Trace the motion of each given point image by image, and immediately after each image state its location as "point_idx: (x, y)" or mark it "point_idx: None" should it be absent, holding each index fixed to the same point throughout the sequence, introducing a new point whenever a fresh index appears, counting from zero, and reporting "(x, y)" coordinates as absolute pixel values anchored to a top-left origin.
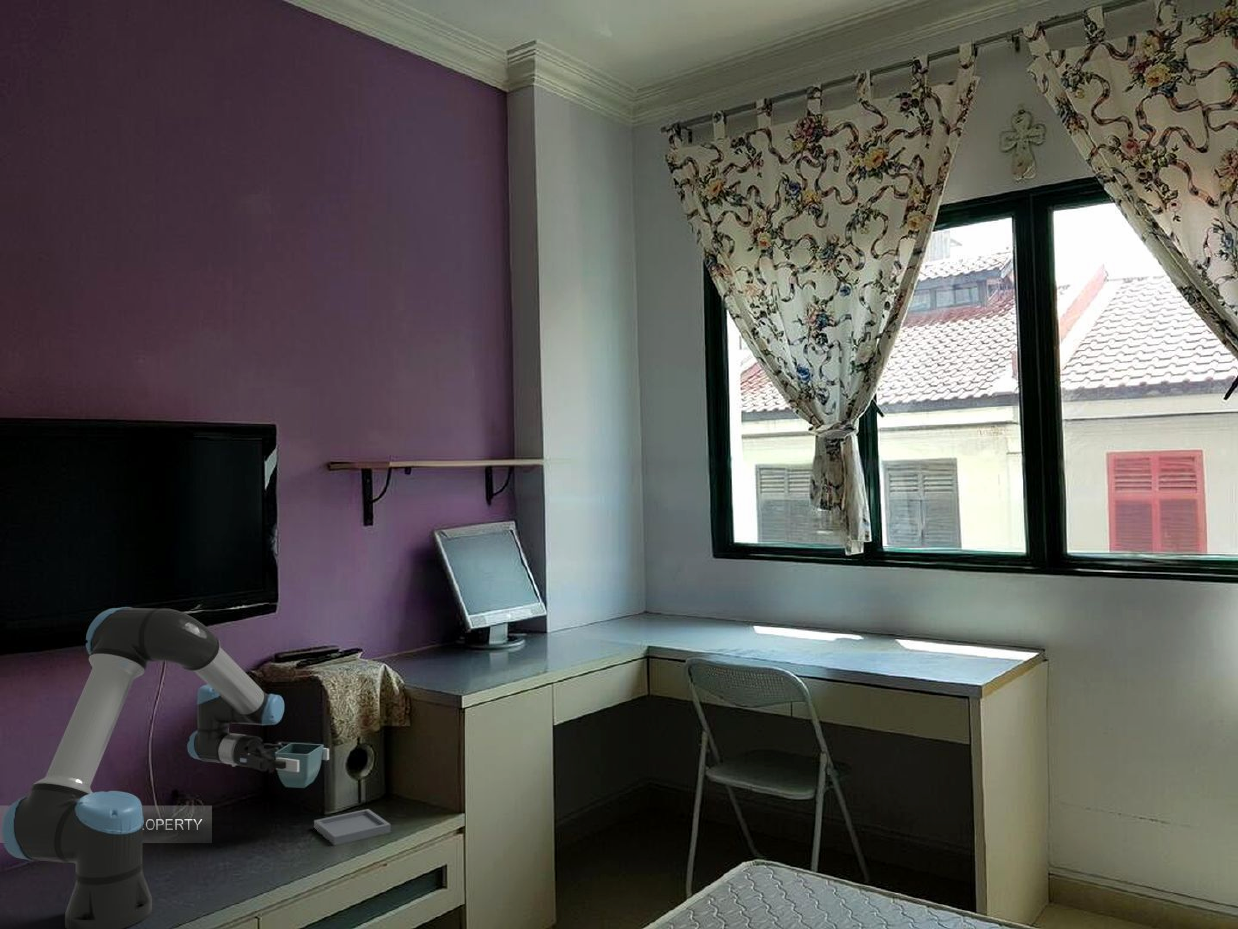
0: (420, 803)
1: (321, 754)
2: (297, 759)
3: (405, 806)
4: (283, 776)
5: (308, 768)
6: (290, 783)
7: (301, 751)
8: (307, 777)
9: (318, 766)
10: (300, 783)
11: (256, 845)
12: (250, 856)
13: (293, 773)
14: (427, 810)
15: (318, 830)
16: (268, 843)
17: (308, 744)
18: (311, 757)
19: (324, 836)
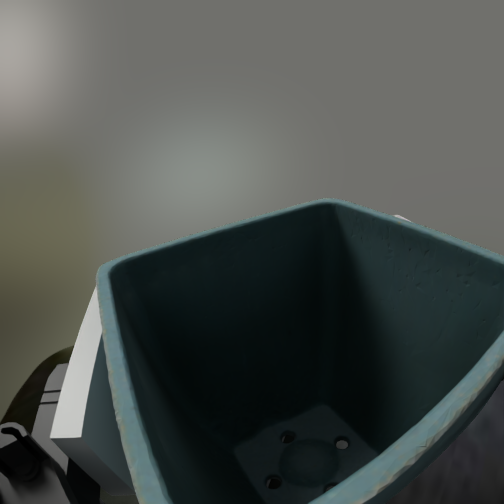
0: (12, 415)
1: (151, 312)
2: (380, 247)
3: (28, 431)
4: (431, 408)
5: (320, 286)
6: (383, 423)
7: (177, 452)
8: (321, 336)
9: (198, 367)
10: (345, 383)
11: (457, 494)
12: (484, 429)
13: (388, 349)
14: (44, 386)
15: (269, 480)
16: (426, 492)
17: (119, 334)
18: (290, 240)
19: (283, 438)
